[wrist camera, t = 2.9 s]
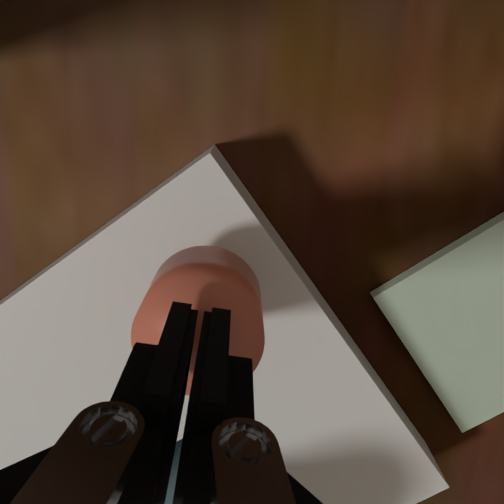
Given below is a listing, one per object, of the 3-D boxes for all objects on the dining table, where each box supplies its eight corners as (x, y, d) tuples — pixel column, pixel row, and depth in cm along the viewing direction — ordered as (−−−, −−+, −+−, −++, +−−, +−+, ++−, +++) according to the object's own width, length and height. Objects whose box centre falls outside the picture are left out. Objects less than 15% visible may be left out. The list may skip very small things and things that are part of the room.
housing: (425, 441, 24) (449, 487, 21) (174, 570, 27) (166, 625, 24) (214, 144, 18) (209, 152, 15) (-73, 354, 21) (-121, 392, 18)
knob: (276, 280, 18) (290, 354, 13) (201, 327, 19) (186, 416, 14) (221, 205, 17) (211, 254, 12) (144, 259, 18) (102, 327, 12)
